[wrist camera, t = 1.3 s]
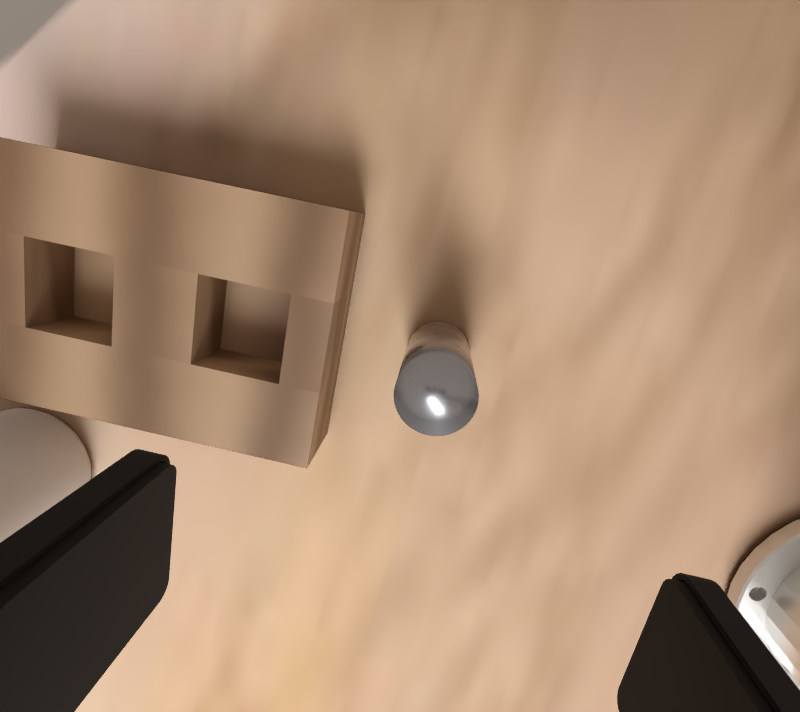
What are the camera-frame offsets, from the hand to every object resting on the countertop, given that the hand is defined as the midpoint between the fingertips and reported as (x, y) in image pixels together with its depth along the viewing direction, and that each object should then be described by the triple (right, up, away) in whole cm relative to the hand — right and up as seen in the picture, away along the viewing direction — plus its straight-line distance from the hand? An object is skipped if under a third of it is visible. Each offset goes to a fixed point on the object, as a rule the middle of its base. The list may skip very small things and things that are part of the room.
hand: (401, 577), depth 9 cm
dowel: (+2, +4, +16) cm, 16 cm away
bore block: (-11, +7, +16) cm, 21 cm away
